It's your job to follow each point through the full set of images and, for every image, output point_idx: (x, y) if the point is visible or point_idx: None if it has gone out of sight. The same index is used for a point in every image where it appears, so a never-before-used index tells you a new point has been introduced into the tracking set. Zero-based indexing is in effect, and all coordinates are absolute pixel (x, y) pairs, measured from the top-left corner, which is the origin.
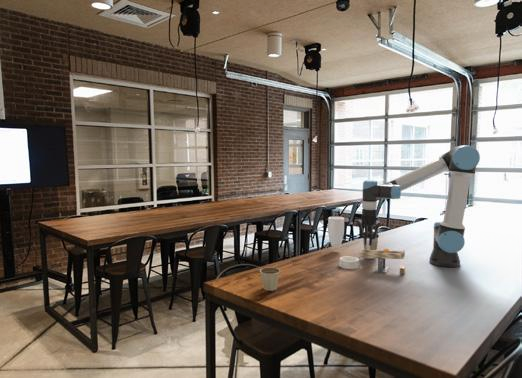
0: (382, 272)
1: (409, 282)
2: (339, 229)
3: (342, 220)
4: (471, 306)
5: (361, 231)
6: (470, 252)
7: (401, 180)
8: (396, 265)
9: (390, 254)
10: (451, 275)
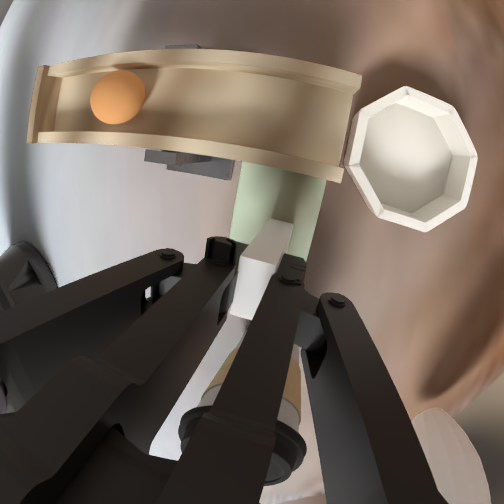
0: None
1: (115, 10)
2: (442, 487)
3: None
4: None
5: (358, 365)
6: None
7: None
8: (141, 227)
9: (101, 57)
10: (16, 158)
